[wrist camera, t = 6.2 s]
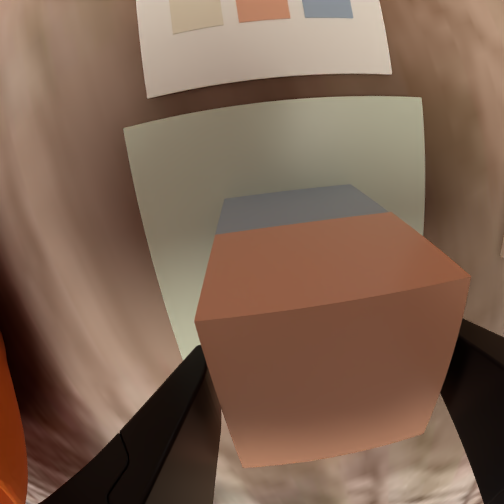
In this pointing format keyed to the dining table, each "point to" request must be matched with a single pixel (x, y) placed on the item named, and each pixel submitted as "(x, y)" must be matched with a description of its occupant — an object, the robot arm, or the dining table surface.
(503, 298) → the dining table surface
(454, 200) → the dining table surface
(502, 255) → the brick
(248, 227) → the brick base
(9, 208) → the dining table surface
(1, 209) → the dining table surface
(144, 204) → the plate
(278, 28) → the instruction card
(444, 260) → the brick
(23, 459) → the bowl
